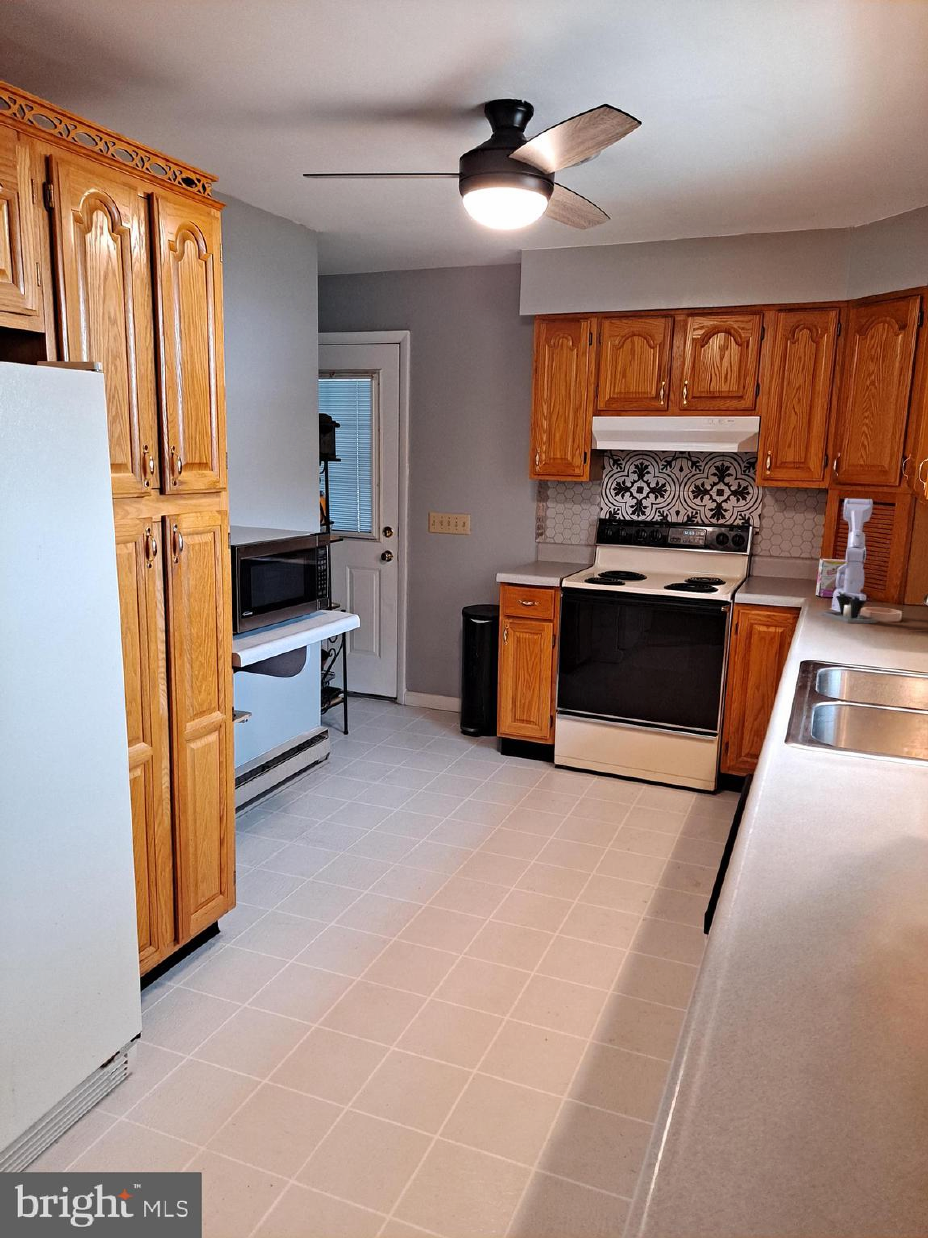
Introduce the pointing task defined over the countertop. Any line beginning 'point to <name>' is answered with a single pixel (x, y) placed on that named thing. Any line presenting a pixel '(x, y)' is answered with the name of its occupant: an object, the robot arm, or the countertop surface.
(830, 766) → the countertop surface
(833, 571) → the candy bar box
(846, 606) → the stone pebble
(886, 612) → the terracotta bowl
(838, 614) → the parts tray
